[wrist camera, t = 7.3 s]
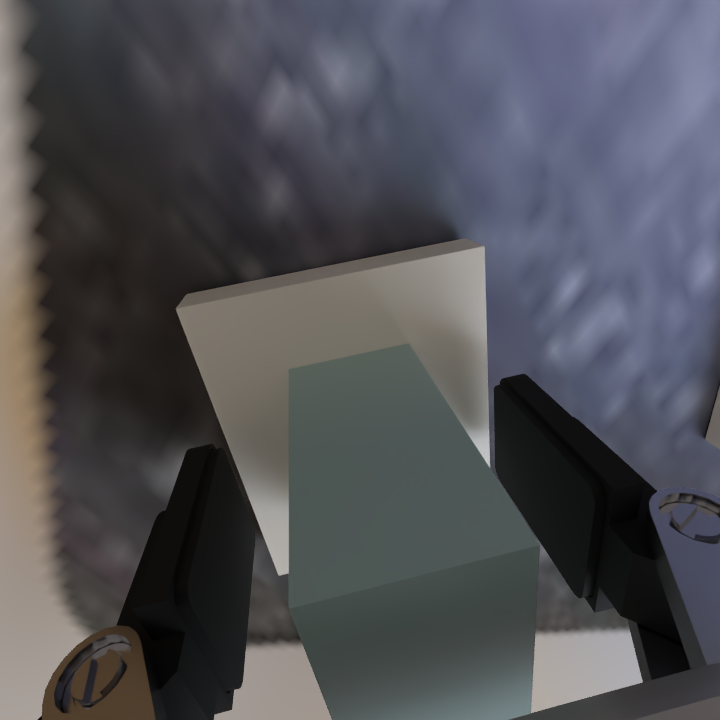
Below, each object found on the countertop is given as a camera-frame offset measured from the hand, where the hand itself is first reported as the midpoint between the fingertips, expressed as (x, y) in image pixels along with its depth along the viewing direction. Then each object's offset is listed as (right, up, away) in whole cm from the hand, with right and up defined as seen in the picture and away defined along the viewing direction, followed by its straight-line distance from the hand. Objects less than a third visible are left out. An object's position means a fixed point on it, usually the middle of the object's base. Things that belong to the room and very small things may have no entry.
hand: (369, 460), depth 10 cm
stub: (0, +1, +2) cm, 2 cm away
